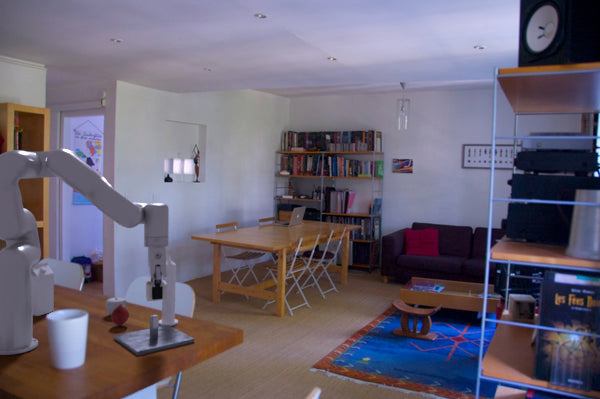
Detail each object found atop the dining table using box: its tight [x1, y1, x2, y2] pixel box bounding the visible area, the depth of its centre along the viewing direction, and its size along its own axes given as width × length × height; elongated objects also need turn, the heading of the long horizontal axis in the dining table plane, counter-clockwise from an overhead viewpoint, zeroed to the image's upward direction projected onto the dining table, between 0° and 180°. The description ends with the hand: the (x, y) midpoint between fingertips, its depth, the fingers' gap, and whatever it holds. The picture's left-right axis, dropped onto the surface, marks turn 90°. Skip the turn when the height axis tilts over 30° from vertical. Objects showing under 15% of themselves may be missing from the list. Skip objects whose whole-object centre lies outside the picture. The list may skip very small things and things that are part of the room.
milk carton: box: [31, 261, 55, 317], centre depth 179 cm, size 7×7×19 cm
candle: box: [158, 255, 179, 327], centre depth 171 cm, size 7×7×25 cm
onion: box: [110, 304, 130, 327], centre depth 167 cm, size 6×6×8 cm
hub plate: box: [113, 314, 195, 356], centre depth 153 cm, size 19×18×8 cm
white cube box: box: [145, 280, 167, 302], centre depth 153 cm, size 6×6×6 cm
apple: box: [104, 296, 128, 316], centre depth 180 cm, size 8×8×7 cm
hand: (156, 296), depth 153 cm, fingers closed on white cube box, 6 cm apart
